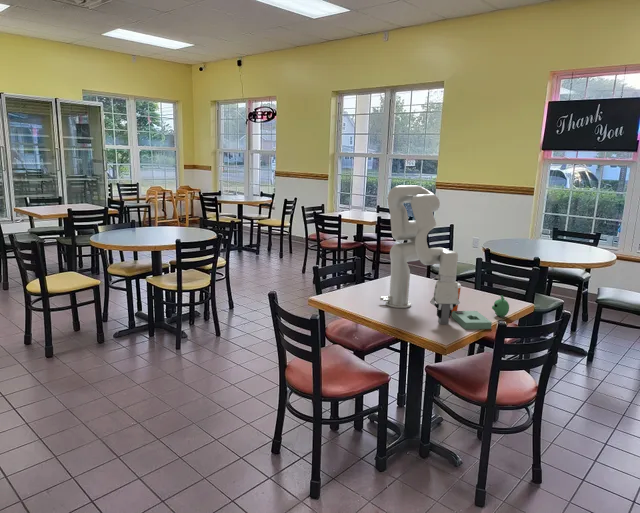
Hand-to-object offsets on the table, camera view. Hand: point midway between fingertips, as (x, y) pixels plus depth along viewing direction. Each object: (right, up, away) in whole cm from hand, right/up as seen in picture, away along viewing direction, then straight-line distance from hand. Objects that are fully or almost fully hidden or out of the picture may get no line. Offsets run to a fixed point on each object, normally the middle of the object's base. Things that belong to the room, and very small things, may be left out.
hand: (443, 317), depth 216 cm
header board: (+13, -3, +2) cm, 13 cm away
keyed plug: (0, -3, +1) cm, 3 cm away
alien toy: (+30, -1, +12) cm, 32 cm away
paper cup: (+8, 0, +18) cm, 20 cm away
